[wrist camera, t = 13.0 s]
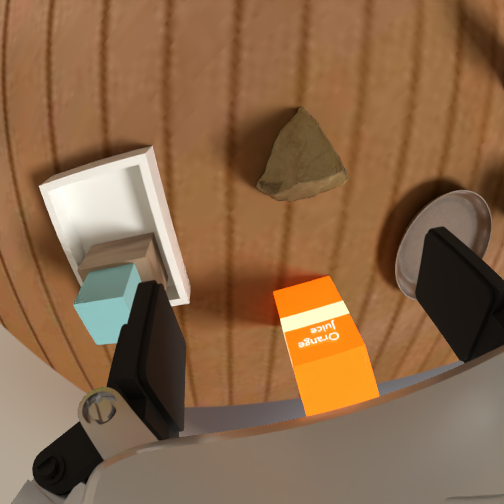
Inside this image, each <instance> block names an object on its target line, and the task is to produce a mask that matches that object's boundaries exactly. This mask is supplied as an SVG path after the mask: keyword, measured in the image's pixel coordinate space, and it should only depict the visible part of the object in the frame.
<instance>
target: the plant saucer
mask: <svg viewBox="0 0 504 504" xmlns="http://www.w3.org/2000/svg"><path fill="white" fill-rule="evenodd" d="M441 226H443V227H445V228H447V229H448V230H449V231H450V232H451V233H452V234H454V235H455V236H456V237H457V238H458V239H459V240H461V241H462V242H463V243H464V244H465V245H466V246H467V247H469V248H470V249H471V250H472V251H473V252H474V253H475V254H476V255H478V256H479V257H480V258H481V259H483V257H484V255H485V253H486V251H487V248H488V245H489V241H490V238H491V232H492V218H491V213H490V209H489V207H488V205H487V203H486V201H485V200H484V199H483V198H482V197H481V196H480V195H478V194H477V193H475V192H472V191H468V190H457V191H452V192H448V193H445V194H442V195H440V196H438V197H436V198H435V199H433V200H431V201H430V202H429V203H427V204H426V205H425V206H424V207H423V208H422V209H421V210H420V211H419V212H418V213H417V214H416V215H415V216H414V217H413V219H412V220H411V221H410V223H409V224H408V226H407V228H406V229H405V231H404V233H403V235H402V238H401V240H400V243H399V246H398V250H397V254H396V260H395V276H396V281H397V284H398V286H399V288H400V290H401V291H402V292H403V293H404V295H406V296H407V297H408V298H410V299H413V300H416V301H417V299H416V295H415V290H416V285H417V280H418V274H419V269H420V263H421V257H422V251H423V245H424V238H425V235H426V234H427V233H428V231H429V229H431V228H436V227H441Z"/></svg>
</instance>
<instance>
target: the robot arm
mask: <svg viewBox="0 0 504 504" xmlns="http://www.w3.org/2000/svg"><path fill="white" fill-rule="evenodd" d="M415 295H416V299H417V301H418V302H419V303H420V305H421V306H422V307H423V309H424V310H425V311H426V313H427V314H428V315H429V317H430V318H431V320H432V321H433V322H434V324H435V325H436V327H437V328H438V329H439V331H440V332H441V334H442V335H443V336H444V338H445V339H446V341H447V342H448V344H449V345H450V347H451V348H452V350H453V351H454V353H455V354H456V356H457V357H458V358H459V360H461V361H463V362H464V363H465V364H463V365H461V366H458V367H456V368H454V369H451V370H449V371H447V372H444V373H442V374H440V375H437V376H435V377H432V378H430V379H427V380H424V381H422V382H419V383H417V384H414V385H411V386H409V387H406V388H403V389H400V390H397V391H395V392H392V393H389V394H386V395H383V396H379V397H376V398H373V399H370V400H367V401H363V402H360V403H357V404H353V405H350V406H346V407H342V408H339V409H335V410H331V411H327V412H324V413H319V414H315V415H311V416H307V417H302V418H298V419H293V420H289V421H284V422H278V423H273V424H268V425H262V426H256V427H250V428H244V429H238V430H232V431H225V432H218V433H210V434H201V435H194V436H187V437H179V431H183V430H184V397H185V364H186V343H185V340H184V337H183V334H182V332H181V330H180V327H179V325H178V322H177V320H176V317H175V314H174V312H173V309H172V307H171V304H170V302H169V299H168V296H167V294H166V291H165V288H164V286H163V284H162V283H159V284H158V283H157V281H156V280H151V281H145V282H140V283H138V286H137V289H136V293H135V296H134V300H133V303H132V307H131V311H130V314H129V318H128V322H127V324H124V325H122V327H121V330H120V333H119V337H118V341H117V345H116V349H115V353H114V357H113V361H112V365H111V369H110V374H109V378H108V383H107V387H101V388H97V389H94V390H92V391H90V392H89V393H88V394H87V395H86V396H84V397H83V399H82V401H81V402H80V404H79V407H78V418H79V420H80V421H79V422H78V423H77V424H75V425H74V426H73V427H72V428H70V429H69V430H68V431H67V432H65V433H64V434H63V435H62V436H60V437H59V438H58V439H57V440H55V441H54V442H53V443H52V444H50V445H49V446H48V447H46V448H45V449H44V450H43V451H41V452H40V453H39V454H38V455H37V457H36V459H35V460H34V463H33V468H32V470H33V476H34V479H33V480H32V481H30V480H27V482H26V483H25V484H24V486H23V487H22V489H21V490H20V492H19V493H18V495H17V496H16V497H15V499H14V500H13V502H12V503H11V504H504V280H503V279H502V278H501V277H500V276H499V275H498V274H497V273H496V272H495V271H494V270H493V269H491V268H490V267H489V266H488V265H487V264H486V263H485V262H484V261H483V260H482V259H481V258H480V257H479V256H478V255H476V254H475V253H474V252H473V251H472V250H471V249H470V248H469V247H467V246H466V245H465V244H464V243H463V242H462V241H461V240H459V239H458V238H457V237H456V236H455V235H454V234H452V233H451V232H450V231H449V230H448V229H447V228H445V227H443V226H441V227H436V228H431V229H429V231H428V233H427V234H426V235H425V238H424V245H423V251H422V257H421V263H420V269H419V274H418V280H417V285H416V290H415Z"/></svg>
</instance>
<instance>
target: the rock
mask: <svg viewBox="0 0 504 504" xmlns="http://www.w3.org/2000/svg"><path fill="white" fill-rule="evenodd" d="M271 152H272V154H271V156H270V158H269V159H268V162H267V166H266V171H265V173H264V174H263V175H262V177H261V178H260V179H259V180H258V182H257V185H256V188H257V189H259V190H260V192H263V193H265V194H266V195H268V196H270V197H271V198H273V199H275V200H278V201H289V202H291V201H296V200H299V199H305V198H310V197H314V196H316V195H318V194H319V193H322V192H325V191H328V190H331V189H333V188H336V187H338V186H342V185H343V184H344V183H346V182H347V181H348V180H349V178H348V174H347V171H346V170H345V168H344V166H343V164H342V162H341V160H340V158H339V156H338V154H337V152H336V151H335V149H334V147H333V146H332V144H331V142H330V141H329V140H328V138H327V137H326V135H325V133H324V132H323V131H322V129H321V127H320V126H319V123H318V122H317V121H316V120H315V119H314V118H313V117H312V116H311V115H310V114H309V113H308V112H307V111H306V110H305V109H304V107H300V108H299V109H298V112H297V114H296V115H295V116H294V117H293V118H292V119H291V120H290V121H289V122H288V123H287V124H286V125H285V126H284V128H283V129H281V130H280V133H279V135H278V137H277V139H276V140H275V142H274V146H273V148H272V151H271Z"/></svg>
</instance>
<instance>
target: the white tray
mask: <svg viewBox="0 0 504 504" xmlns="http://www.w3.org/2000/svg"><path fill="white" fill-rule="evenodd" d="M39 188H40V191H41V194H42V197H43V199H44V202H45V205H46V208H47V210H48V213H49V215H50V218H51V221H52V223H53V226H54V228H55V231H56V233H57V235H58V238H59V240H60V243H61V245H62V247H63V250H64V252H65V254H66V256H67V259H68V261H69V263H70V265H71V267H72V269H73V272H74V274H75V276H76V278H77V280H78V282H79V284H80V286H81V287H82V285H83V282H82V279H81V277H80V275H79V273H78V271H77V270H78V268H79V266H80V265H81V263H82V261H83V260H84V258H85V256H86V254H87V253H88V251H89V249H90V248H91V246H92V245H96V244H100V243H105V242H109V241H114V240H118V239H123V238H127V237H132V236H137V235H142V234H146V233H151V232H154V235H155V239H156V242H157V245H158V248H159V251H160V254H161V257H162V260H163V263H164V266H165V269H166V272H167V275H168V282H167V288H166V294H167V296H168V299H169V302H170V304H171V306H176V305H182V304H188V303H190V288H191V285H190V281H189V278H188V275H187V272H186V268H185V265H184V262H183V258H182V255H181V252H180V248H179V245H178V241H177V238H176V234H175V231H174V227H173V224H172V220H171V217H170V213H169V209H168V206H167V202H166V198H165V194H164V190H163V187H162V183H161V179H160V175H159V171H158V167H157V163H156V159H155V154H154V150H153V146H149V147H145V148H141V149H137V150H133V151H130V152H126V153H122V154H119V155H115V156H112V157H108V158H105V159H101V160H98V161H95V162H92V163H88V164H85V165H82V166H79V167H76V168H73V169H70V170H67V171H64V172H61V173H58V174H55V175H53V176H51V177H50V178H49V179H47V180H46V181H45V182H43V183H42V184H41V185H39Z"/></svg>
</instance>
